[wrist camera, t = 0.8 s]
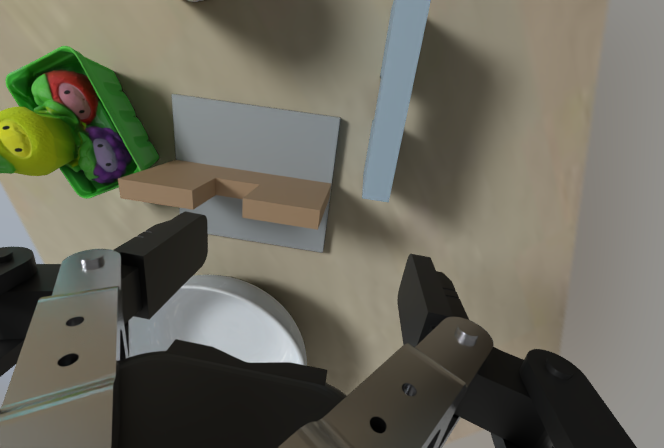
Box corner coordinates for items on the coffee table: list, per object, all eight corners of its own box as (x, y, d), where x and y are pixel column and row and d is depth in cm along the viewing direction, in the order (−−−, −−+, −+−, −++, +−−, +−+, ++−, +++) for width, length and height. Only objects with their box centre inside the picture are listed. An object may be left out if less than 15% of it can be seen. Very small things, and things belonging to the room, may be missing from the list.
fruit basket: (176, 166, 33) (88, 198, 22) (110, 190, 35) (1, 230, 24) (117, 50, 29) (-22, 24, 19) (47, 85, 31) (-115, 78, 21)
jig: (176, 94, 30) (105, 92, 22) (340, 117, 29) (330, 125, 21) (184, 226, 35) (130, 264, 27) (323, 249, 35) (309, 295, 26)
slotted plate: (391, 7, 26) (401, -29, 18) (416, 10, 25) (435, -25, 18) (363, 174, 31) (362, 198, 24) (383, 177, 31) (388, 202, 23)
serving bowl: (150, 239, 37) (104, 269, 30) (325, 269, 36) (316, 307, 29) (164, 369, 45) (130, 414, 38) (307, 396, 44) (296, 447, 37)
